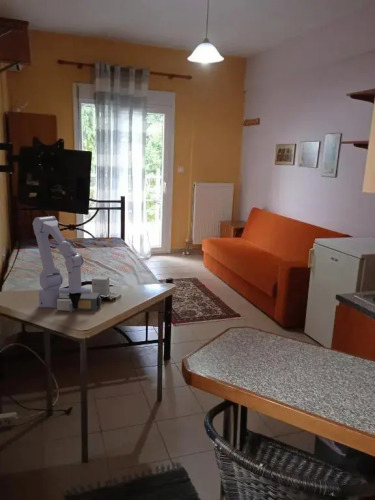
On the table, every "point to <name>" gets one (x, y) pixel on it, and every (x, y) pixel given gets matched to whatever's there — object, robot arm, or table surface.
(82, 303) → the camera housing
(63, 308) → the camera door
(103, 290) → the small box
